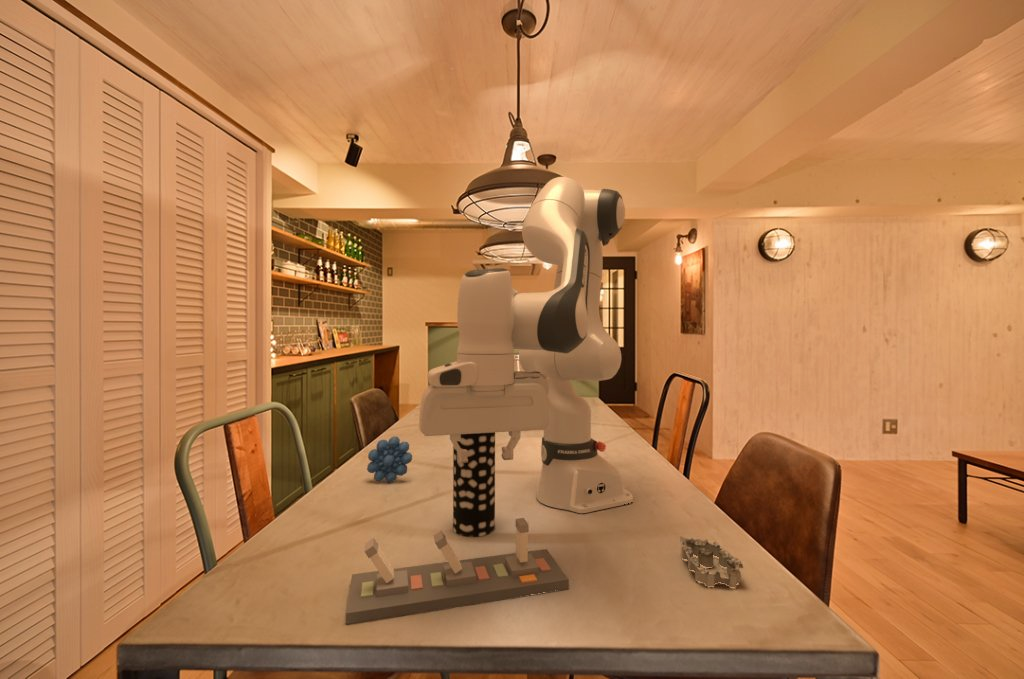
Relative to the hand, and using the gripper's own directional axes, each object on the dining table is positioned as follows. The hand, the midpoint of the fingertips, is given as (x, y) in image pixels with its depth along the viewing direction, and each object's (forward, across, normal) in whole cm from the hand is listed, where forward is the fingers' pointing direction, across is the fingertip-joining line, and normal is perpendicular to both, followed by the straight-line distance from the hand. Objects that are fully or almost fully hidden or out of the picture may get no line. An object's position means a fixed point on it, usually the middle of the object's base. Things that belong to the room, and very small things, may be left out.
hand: (485, 460), depth 70 cm
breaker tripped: (+17, -6, 0) cm, 18 cm away
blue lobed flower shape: (+19, +14, -53) cm, 58 cm away
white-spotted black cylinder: (+19, -2, -20) cm, 28 cm away
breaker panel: (+19, +4, 0) cm, 20 cm away
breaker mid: (+17, +4, 0) cm, 17 cm away
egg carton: (+20, -36, +6) cm, 42 cm away
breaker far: (+17, +14, 0) cm, 22 cm away
